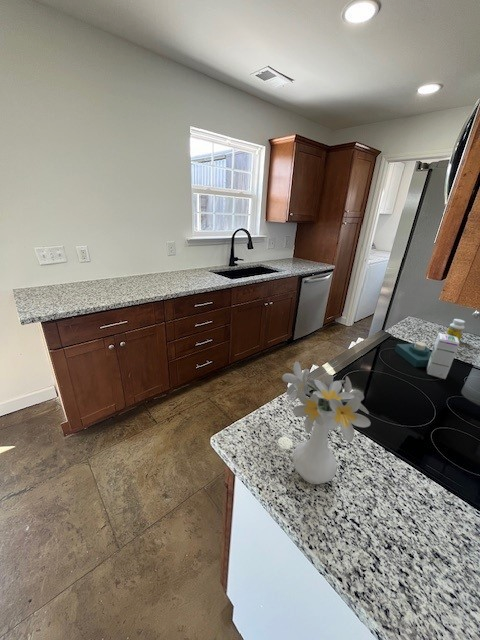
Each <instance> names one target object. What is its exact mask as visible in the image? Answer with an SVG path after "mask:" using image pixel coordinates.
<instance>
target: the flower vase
mask: <svg viewBox="0 0 480 640" xmlns="http://www.w3.org/2000/svg"><path fill="white" fill-rule="evenodd" d="M292 370H293V373H289V372H288V373H283V374H282V376H281V379H282V381H283V382H285V383H288V384H290V385H289V386H288V387H287V389H286V395H287V397H286V401H290V400H291V401H290V402H291V403H293V402H295V401H296V400H297V399H298V400H299V402H300V403H301V404H300V405H296V406H294V407H293V409H292V414H293V415H294V416H296V417H298V418H303V417H305V418H304V422H303V423H304V430H305V432H306V434H310V433H311V434H310V437H309V439H307V440H303V441H302V442H300V443H298V444H297V446H296V447H295V448H294V451H293V452H292V462H293V467H294V468H295V470H296V472H297V473H298V474H299V476H300V477H301V478H302V479H303V480H304V481H305V482H307V483H308V484H310V485H323V484H326V483H329V482H330V481H332V480H333V479H334V478H335V476H336V474H337V470H338V464H337V458H336V457H335V454H334V453H333V451H332V450H331V448H329V446H328V439H329V433H330V430H334V429H338V428H339V427H340V431H341V434H342V437H343V439H344V440H345V441H346V442H347V443H351V442H352V441H353V440H354V437H355V429H354V426H355V427H359V428H368V427H370V426H371V421H370V419H369V418H368V417H367V416H365V415H362V414H360V413H357V411H359V410H360V411H362V412H363V413H365V414H367V415H370V412H369V410H368V409H367V408H366V407H365V406H364V405H363V404H362V402H363V400H364V399H365V395H364V394H363V392H362V391H360V390H357V389H354V390H352V389H353V388H352V387H353V386H352V385H353V384H352V382H351V380H350V377H349V376H347V375H345V380H344V379H342V380H341V379H339V380H334V378H335V377H334V375H333V374H327V375H325V376H324V377H323V378H322V381H321V380H319V379H312V378H309V379H308V377H309V374H310V369H309V368H305V369H304V370H302V367H301V364H300V362H299V361H295V362H293V369H292ZM342 384H343V391H341V390H342ZM309 390H313V391H314V392H313V391H312V393H311V392H309ZM307 395H308V396H309V397H308V396H307ZM343 403H346V404H345V405H344V404H343Z"/></svg>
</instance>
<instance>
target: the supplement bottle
mask: <svg viewBox="0 0 480 640" xmlns="http://www.w3.org/2000/svg"><path fill="white" fill-rule="evenodd" d="M465 323H466V321H465V320H464V319H460V318H454V319H453V320H452V322H451V323H450V324H449V326H448V328H447V331H446V334H448V335H452V336H456V337H458V340H459V342H460V341H461V339H462V336H463V333H464V331H465V329H466V326H465Z"/></svg>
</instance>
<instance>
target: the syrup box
mask: <svg viewBox="0 0 480 640" xmlns="http://www.w3.org/2000/svg"><path fill="white" fill-rule="evenodd" d="M459 346H460V341H459V340H458V337H456V336H452V335H448V334H447V333H440V332H438V334H437V337H436V339H435V342H434V345H433V348H432V351H431V352H432V353H431V356H430V359H429V362H428V364H427V367H426V374H427V375H429V376H432V377H436V378H439V379H443V380H446V379H447V377H448V374H449V372H450V370H451V367H452V364H453V361H454V359H455V357H456V354H457V352H458V349H459Z"/></svg>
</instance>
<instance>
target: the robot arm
mask: <svg viewBox="0 0 480 640" xmlns="http://www.w3.org/2000/svg"><path fill="white" fill-rule="evenodd" d="M471 316H472V317H473V318H474V319H476V320H477V319H480V311H477V310H476V309H475V311H474V312H473V313H472V314H471Z"/></svg>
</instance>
